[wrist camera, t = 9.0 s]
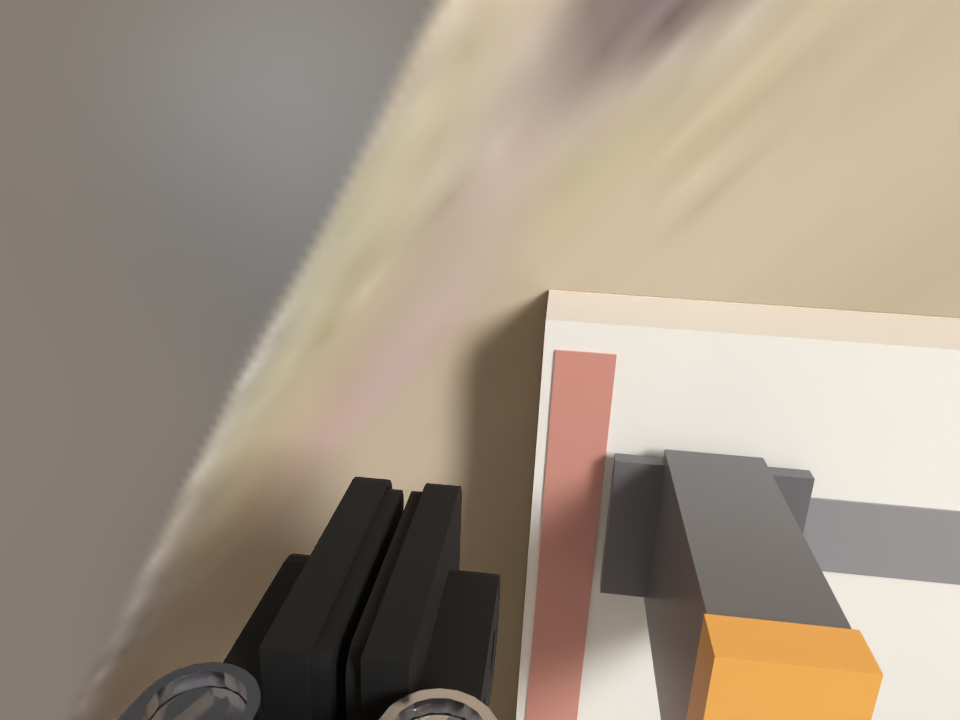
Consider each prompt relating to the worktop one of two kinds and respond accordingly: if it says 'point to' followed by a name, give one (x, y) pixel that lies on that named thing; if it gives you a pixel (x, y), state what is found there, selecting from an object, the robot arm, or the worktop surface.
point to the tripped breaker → (732, 591)
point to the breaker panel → (754, 433)
